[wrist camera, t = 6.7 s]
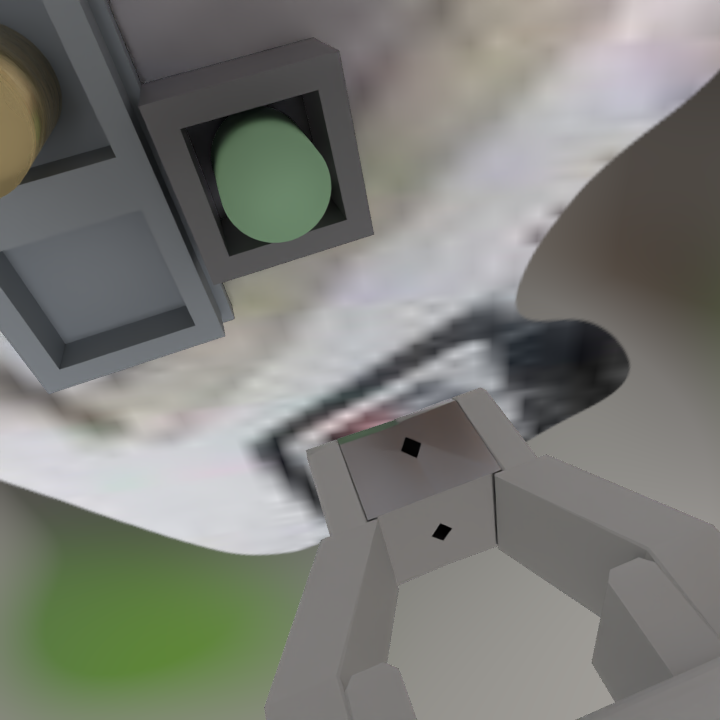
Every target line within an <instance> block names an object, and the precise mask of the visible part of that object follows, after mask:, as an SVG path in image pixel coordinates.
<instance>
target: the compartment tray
mask: <svg viewBox="0 0 720 720" xmlns="http://www.w3.org/2000/svg"><path fill="white" fill-rule="evenodd" d="M0 24H2V25H5V26H7V27H9V28H11V29H13V30H15V31H16V32H18V33H20V34H21V35H23V36H24V37H25V38H27V39H28V40H29V41H31V42H32V43H33V44H34V45H35V46H36V47H37V48H38V49H39V50H40V51H41V52H42V54H43V55H44V56H45V57H46V59H47V60H48V62H49V63H50V65H51V66H52V68H53V70H54V72H55V74H56V76H57V79H58V82H59V85H60V89H61V95H62V108H61V113H60V117H59V120H58V122H57V124H56V126H55V127H54V129H53V131H52V132H51V134H50V136H49V137H48V139H47V141H46V142H45V144H44V146H43V147H42V149H41V151H40V152H39V154H38V156H37V157H36V159H35V161H34V162H33V164H32V166H31V167H30V169H29V170H28V172H27V174H26V175H25V177H24V178H23V180H22V181H21V183H20V184H19V185H18V186H17V187H16V188H15V189H14V190H13V191H11V192H10V193H9V194H7V195H5V196H3V197H1V198H0V331H1V332H2V333H3V334H4V336H5V337H6V338H7V340H8V341H9V342H10V344H11V345H12V346H13V348H14V349H15V350H16V352H17V353H18V354H19V356H20V357H21V358H22V359H23V361H24V362H25V363H26V365H27V366H28V367H29V369H30V370H31V371H32V373H33V374H34V375H35V377H36V378H37V379H38V381H39V382H40V383H41V385H42V386H43V387H44V388H45V390H46V391H47V392H48V394H51V393H54V392H57V391H60V390H63V389H66V388H69V387H72V386H75V385H78V384H81V383H84V382H87V381H90V380H93V379H96V378H99V377H102V376H105V375H108V374H111V373H115V372H118V371H121V370H124V369H127V368H130V367H133V366H136V365H139V364H142V363H145V362H148V361H151V360H154V359H157V358H160V357H163V356H166V355H169V354H172V353H175V352H178V351H181V350H184V349H188V348H191V347H194V346H197V345H200V344H203V343H206V342H209V341H212V340H215V339H218V338H221V337H224V336H225V332H224V326H223V323H224V322H227V321H230V320H233V319H235V318H234V313H233V308H232V305H231V303H230V300H229V298H228V295H227V293H226V291H225V288H224V286H223V283H220V284H217V285H213V282H212V280H211V277H210V275H209V273H208V270H207V268H206V266H205V263H204V261H203V259H202V256H201V254H200V251H199V249H198V247H197V244H196V242H195V240H194V237H193V235H192V232H191V230H190V228H189V225H188V223H187V221H186V218H185V216H184V213H183V211H182V209H181V206H180V204H179V202H178V199H177V197H176V194H175V192H174V190H173V187H172V185H171V183H170V180H169V178H168V176H167V173H166V171H165V168H164V166H163V164H162V161H161V159H160V157H159V154H158V152H157V149H156V147H155V145H154V142H153V140H152V138H151V135H150V133H149V130H148V128H147V126H146V123H145V121H144V119H143V116H142V114H141V111H140V109H139V107H138V106H139V98H140V91H141V82H140V80H139V78H138V75H137V73H136V70H135V68H134V65H133V63H132V60H131V58H130V56H129V53H128V51H127V48H126V46H125V43H124V41H123V38H122V36H121V34H120V31H119V29H118V26H117V24H116V21H115V19H114V16H113V14H112V12H111V9H110V7H109V4H108V2H107V0H0Z"/></svg>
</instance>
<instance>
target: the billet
mask: <svg viewBox="0 0 720 720" xmlns="http://www.w3.org/2000/svg"><path fill="white" fill-rule="evenodd" d="M61 108H62V95H61V89H60V85H59V82H58V79H57V76H56V74H55V72H54V70H53V68H52V66H51V65H50V63H49V62H48V60H47V59H46V57H45V56H44V55H43V54H42V52H41V51H40V50H39V49H38V48H37V47H36V46H35V45H34V44H33V43H32V42H31V41H29V40H28V39H27V38H25V37H24V36H23V35H21V34H20V33H18V32H16V31H15V30H13V29H11V28H9V27H7V26H5V25H2V24H0V198H1V197H3V196H5V195H7V194H9V193H10V192H11V191H13V190H14V189H15V188H16V187H17V186H18V185H19V184H20V183H21V181H22V180H23V178H24V177H25V175H26V174H27V172H28V170H29V169H30V167H31V166H32V164H33V162H34V161H35V159H36V157H37V156H38V154H39V152H40V151H41V149H42V147H43V146H44V144H45V142H46V141H47V139H48V137H49V136H50V134H51V132H52V131H53V129H54V127H55V126H56V124H57V122H58V120H59V117H60V113H61Z"/></svg>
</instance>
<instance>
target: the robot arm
mask: <svg viewBox="0 0 720 720" xmlns="http://www.w3.org/2000/svg"><path fill="white" fill-rule="evenodd" d="M337 441H338V443H337ZM337 441H336V440H335V441H332V442H329V443H326V444H323V445H320V446H317V447H314V448H311V449H308V450H306V452H307V460H308V463H309V466H310V470H311V473H312V476H313V480H314V483H315V486H316V490H317V493H318V497H319V500H320V503H321V507H322V510H323V513H324V517H325V520H326V523H327V527H328V530H329V534H330V537H327V538H325V539H322V540H321V542H320V545H319V548H318V550H317V553H316V556H315V559H314V562H313V565H312V568H311V571H310V574H309V577H308V580H307V583H306V586H305V589H304V592H303V595H302V598H301V601H300V604H299V607H298V609H297V612H296V615H295V618H294V622H293V624H292V627H291V630H290V633H289V636H288V639H287V642H286V645H285V648H284V651H283V654H282V657H281V660H280V663H279V666H278V668H277V671H276V674H275V677H274V680H273V683H272V686H271V689H270V692H269V695H268V698H267V701H266V704H265V707H264V708H265V716H266V720H417V718H416V715H415V712H414V710H413V707H412V704H411V701H410V698H409V696H408V693H407V690H406V687H405V684H404V681H403V679H402V676H401V673H400V670H399V668H397V667H394V666H392V665H390V664H387V660H388V654H389V648H390V642H391V635H392V629H393V623H394V617H395V610H396V604H397V597H398V592H399V588H398V585H400V584H403V583H405V582H408V581H410V580H412V579H415V578H417V577H419V576H421V575H424V574H426V573H429V572H431V571H433V570H436V569H438V568H440V567H443V566H445V565H447V564H450V563H453V562H456V561H458V560H461V559H464V558H467V557H469V556H472V555H475V554H478V553H480V552H483V551H486V550H488V549H491V548H494V547H497V546H498V549H499V550H501V551H502V552H504V553H505V554H507V555H508V556H510V557H511V558H513V559H514V560H516V561H517V562H519V563H520V564H522V565H523V566H525V567H526V568H527V569H529V570H531V571H532V572H533V573H535V574H536V575H538V576H539V577H541V578H542V579H544V580H545V581H547V582H548V583H550V584H552V585H553V586H554V587H556V588H557V589H559V590H560V591H562V592H563V593H565V594H566V595H568V596H569V597H571V598H572V599H574V600H575V601H577V602H578V603H580V604H581V605H583V606H584V607H586V608H587V609H589V610H590V611H592V612H593V613H595V614H596V615H598V616H599V617H600V623H599V628H598V633H597V638H596V643H595V648H594V653H593V658H592V664H593V666H594V668H595V669H596V671H597V673H598V674H599V676H600V678H601V679H602V681H603V683H604V684H605V686H606V688H607V689H608V691H609V693H610V694H611V696H612V698H613V699H614V701H615V703H613V704H610V705H608V706H606V707H604V708H601V709H599V710H597V711H595V712H592V713H590V714H588V715H585V716H583V717H581V718H579V719H577V720H720V532H719V530H718V529H717V528H716V527H715V526H714V525H712V524H710V523H708V522H705V521H703V520H701V519H698V518H696V517H693V516H691V515H689V514H686V513H684V512H682V511H679V510H677V509H675V508H672V507H670V506H667V505H665V504H662V503H660V502H658V501H656V500H653V499H651V498H648V497H646V496H644V495H641V494H639V493H637V492H634V491H632V490H629V489H627V488H625V487H623V486H620V485H618V484H615V483H613V482H611V481H608V480H606V479H604V478H601V477H599V476H597V475H594V474H592V473H589V472H587V471H585V470H582V469H580V468H578V467H575V466H573V465H571V464H568V463H566V462H563V461H561V460H559V459H556V458H554V457H552V456H549V455H547V454H546V455H543V456H541V457H537V456H536V455H535V453H534V452H533V451H532V449H531V448H530V447H529V446H528V444H527V443H526V442H525V440H524V439H523V438H522V436H521V435H520V434H519V432H518V431H517V430H516V428H515V427H514V426H513V425H512V423H511V422H510V421H509V419H508V418H507V417H506V415H505V414H504V413H503V411H502V410H501V409H500V407H499V406H498V405H497V404H496V402H495V401H494V400H493V398H492V397H491V396H490V394H489V393H488V392H487V390H485V389H483V388H478V389H475V390H473V391H470V392H467V393H464V394H462V395H459V396H456V397H454V398H452V399H448V400H445V401H442V402H440V403H437V404H434V405H432V406H429V407H426V408H424V409H421V410H418V411H415V412H413V413H410V414H407V415H405V416H402V417H399V418H397V419H394V420H393V421H390V422H387V423H384V424H381V425H378V426H375V427H372V428H369V429H366V430H363V431H360V432H357V433H354V434H351V435H348V436H345V437H342V438H339V439H337ZM338 444H339V445H338Z"/></svg>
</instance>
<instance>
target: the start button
mask: <svg viewBox="0 0 720 720" xmlns="http://www.w3.org/2000/svg"><path fill="white" fill-rule="evenodd" d="M211 162H212V168H213V171H214V175H215V179H216V183H217V187H218V191H219V195H220V199H221V202H222V206H223V208H224V210H225V213H226V214H227V216H228V218H229V219H230V221H231V222H232V223H233V224H234V225H235V226H236V227H237V228H238V229H239V230H240V231H241V232H243V233H244V234H246V235H248V236H249V237H251V238H254V239H256V240H259V241H263V242H270V243H280V242H287V241H291V240H294V239H296V238H299V237H301V236H302V235H304V234H306V233H307V232H309V231H310V230H311V229H312V228H313V227H315V225H316V224H317V223H318V222H319V221H320V219H321V218H322V216H323V215H324V213H325V211H326V209H327V206H328V204H329V200H330V196H331V178H330V173H329V170H328V167H327V165H326V162H325V160H324V159H323V157H322V155H321V154H320V153H319V152H318V150H317V149H316V148H315V147H314V145H313V144H312V143H311V142H310V140H309V139H308V138H307V137H306V136H305V134H304V133H303V132H302V131H301V129H300V128H299V127H298V126H297V125H296V123H295V122H294V121H293V120H292V119H291V118H290V117H288V116H287V115H285V114H284V113H282V112H280V111H278V110H276V109H273V108H270V107H265V106H260V107H256V108H253V109H249V110H246V111H242V112H239V113H235V114H232V115H230V116H229V117H227V118H226V119H225V120H224V121H223V123H222V124H221V125H220V126H219V128H218V130H217V131H216V133H215V136H214V138H213V142H212V146H211Z"/></svg>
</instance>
